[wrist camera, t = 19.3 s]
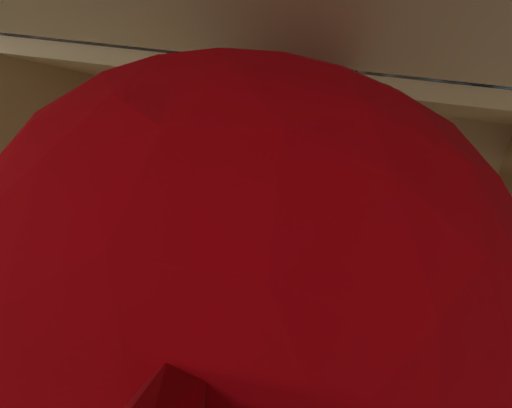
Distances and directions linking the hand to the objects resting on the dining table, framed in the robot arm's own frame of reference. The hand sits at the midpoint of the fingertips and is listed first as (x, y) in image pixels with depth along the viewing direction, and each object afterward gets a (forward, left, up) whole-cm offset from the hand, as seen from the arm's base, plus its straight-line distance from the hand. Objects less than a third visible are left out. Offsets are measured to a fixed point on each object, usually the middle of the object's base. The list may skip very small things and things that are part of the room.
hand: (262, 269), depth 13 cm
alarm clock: (+2, +2, -2) cm, 3 cm away
